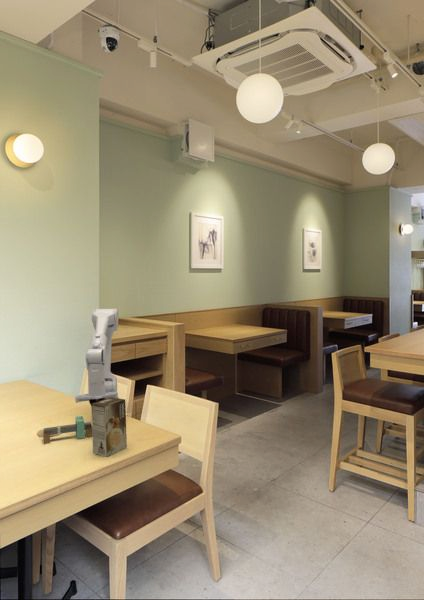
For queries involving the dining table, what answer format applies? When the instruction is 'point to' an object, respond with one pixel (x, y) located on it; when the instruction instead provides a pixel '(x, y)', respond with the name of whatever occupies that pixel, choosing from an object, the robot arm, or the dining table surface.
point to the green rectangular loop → (80, 427)
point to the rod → (65, 431)
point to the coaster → (40, 433)
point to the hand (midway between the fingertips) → (97, 419)
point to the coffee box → (109, 426)
